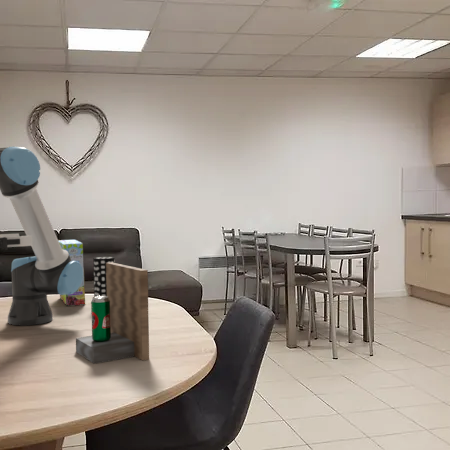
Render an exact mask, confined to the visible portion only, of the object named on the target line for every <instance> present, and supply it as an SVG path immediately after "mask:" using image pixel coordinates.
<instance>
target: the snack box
mask: <svg viewBox="0 0 450 450" xmlns="http://www.w3.org/2000/svg"><path fill="white" fill-rule="evenodd" d="M58 241H59V244H60V246H61V248H62V249H63V250H66V251H67V252H68V253H69V256H70V258H71V260H72V261H74V260H75V261H77V262H79V263H80V264H81V266H82V268H83V279H82V283H81V285H80V287H79V288H78V290H77V291H76V292H74V293H73V294H69V295H65V294H64V295H60V294H59V298H60V299H61V301H62V300H63V301H62V302H63V303H64V305H65V304H66V305H75V306H81V305H80V304H85V305H86V292H85V291H86V290H85V269H84V268H85V266H84V264H85V263H84V261H85V260H84V244H83V242H81V241H79V240H77V239H61V240H60V239H58ZM66 305H65V306H66Z"/></svg>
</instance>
